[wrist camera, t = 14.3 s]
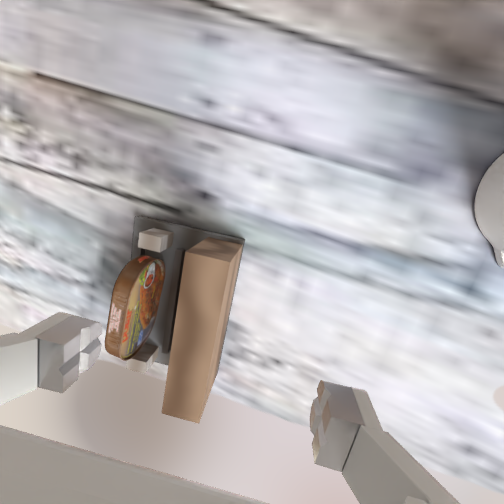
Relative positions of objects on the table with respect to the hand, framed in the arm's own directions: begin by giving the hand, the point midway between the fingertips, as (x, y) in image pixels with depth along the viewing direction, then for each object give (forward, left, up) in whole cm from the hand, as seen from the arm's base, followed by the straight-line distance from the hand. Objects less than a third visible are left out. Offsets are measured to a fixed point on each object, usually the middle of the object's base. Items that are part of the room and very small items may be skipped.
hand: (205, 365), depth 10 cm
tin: (+15, +13, -28) cm, 34 cm away
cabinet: (+10, +13, -29) cm, 33 cm away
